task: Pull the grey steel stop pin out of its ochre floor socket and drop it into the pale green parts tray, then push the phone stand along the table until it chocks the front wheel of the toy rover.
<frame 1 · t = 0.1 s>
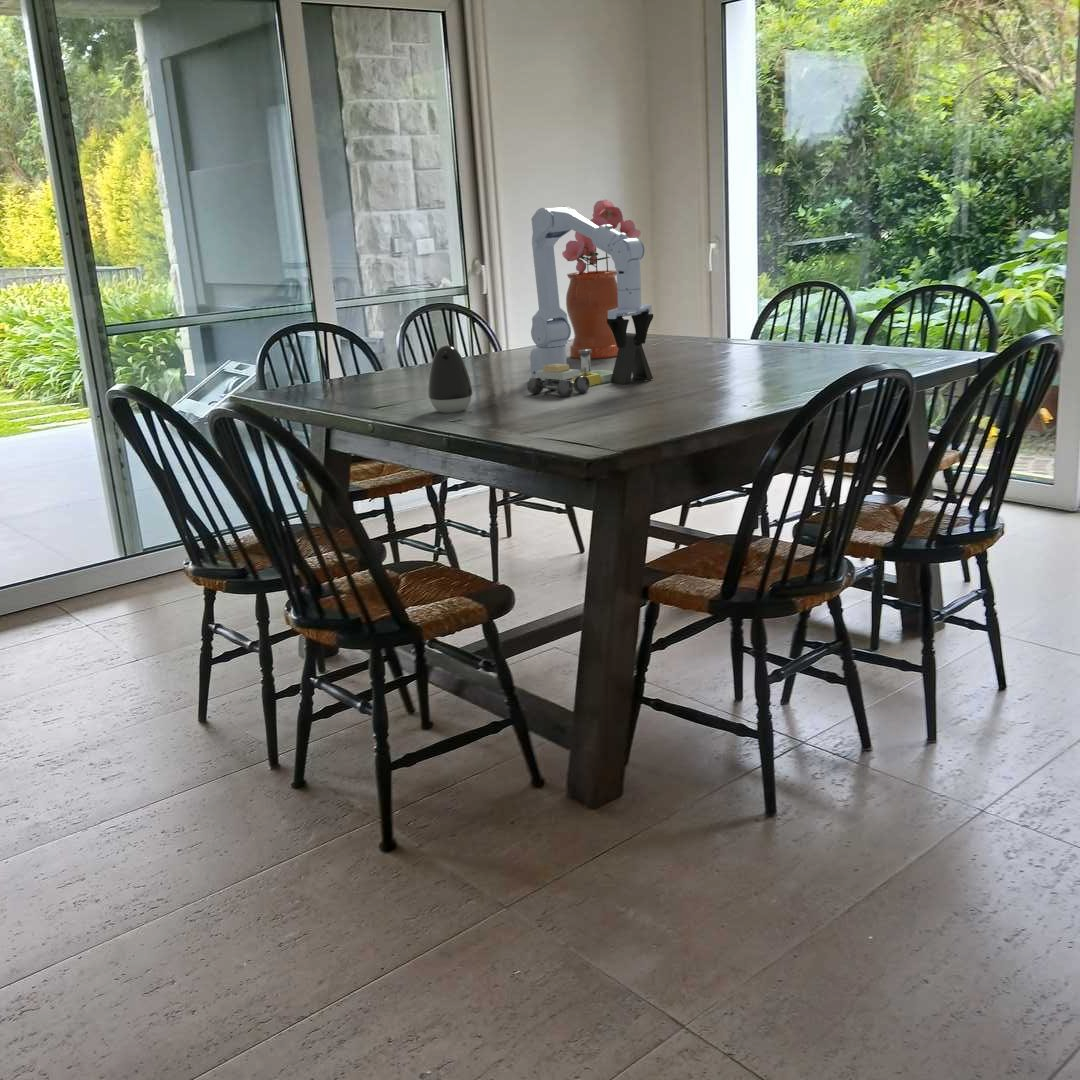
hand: (631, 345, 276), 10 cm above the table, tool pointing down, fingers open, 7 cm apart
potted flower: (601, 355, 338), on the table
egg shaped device: (451, 411, 260), on the table
toy rover: (558, 393, 275), on the table
stop pin: (585, 367, 284), in the pin socket
pin socket: (586, 384, 285), on the table
tray: (600, 380, 291), on the table
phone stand: (632, 381, 286), on the table
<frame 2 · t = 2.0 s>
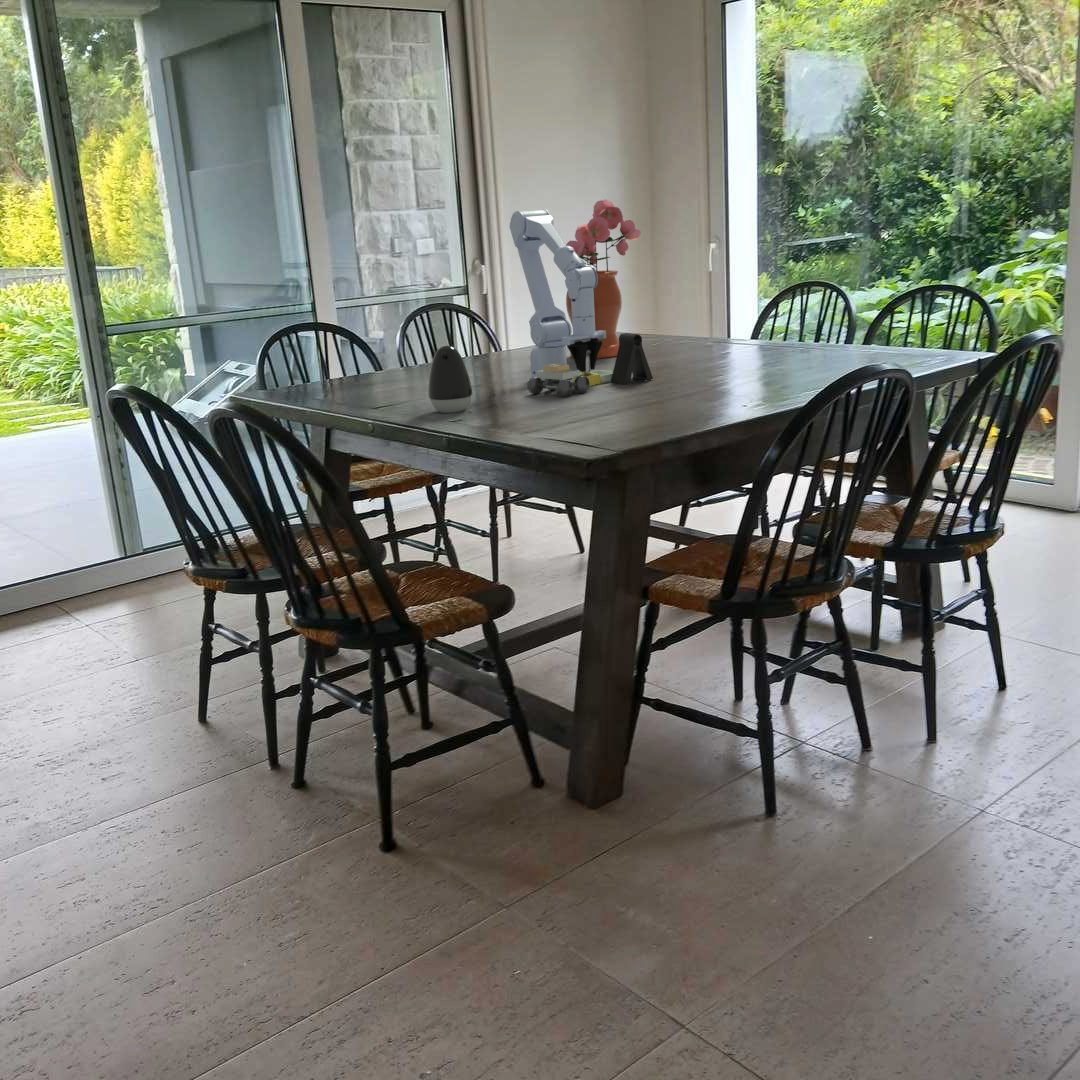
hand: (586, 370, 284), 4 cm above the table, tool pointing down, fingers closed on stop pin, 3 cm apart
stop pin: (585, 367, 284), in the pin socket, touching gripper
everything else where it was.
when the fingers open (6 cm above the table, at t = 4.2 s): stop pin drops 1 cm, resting on tray.
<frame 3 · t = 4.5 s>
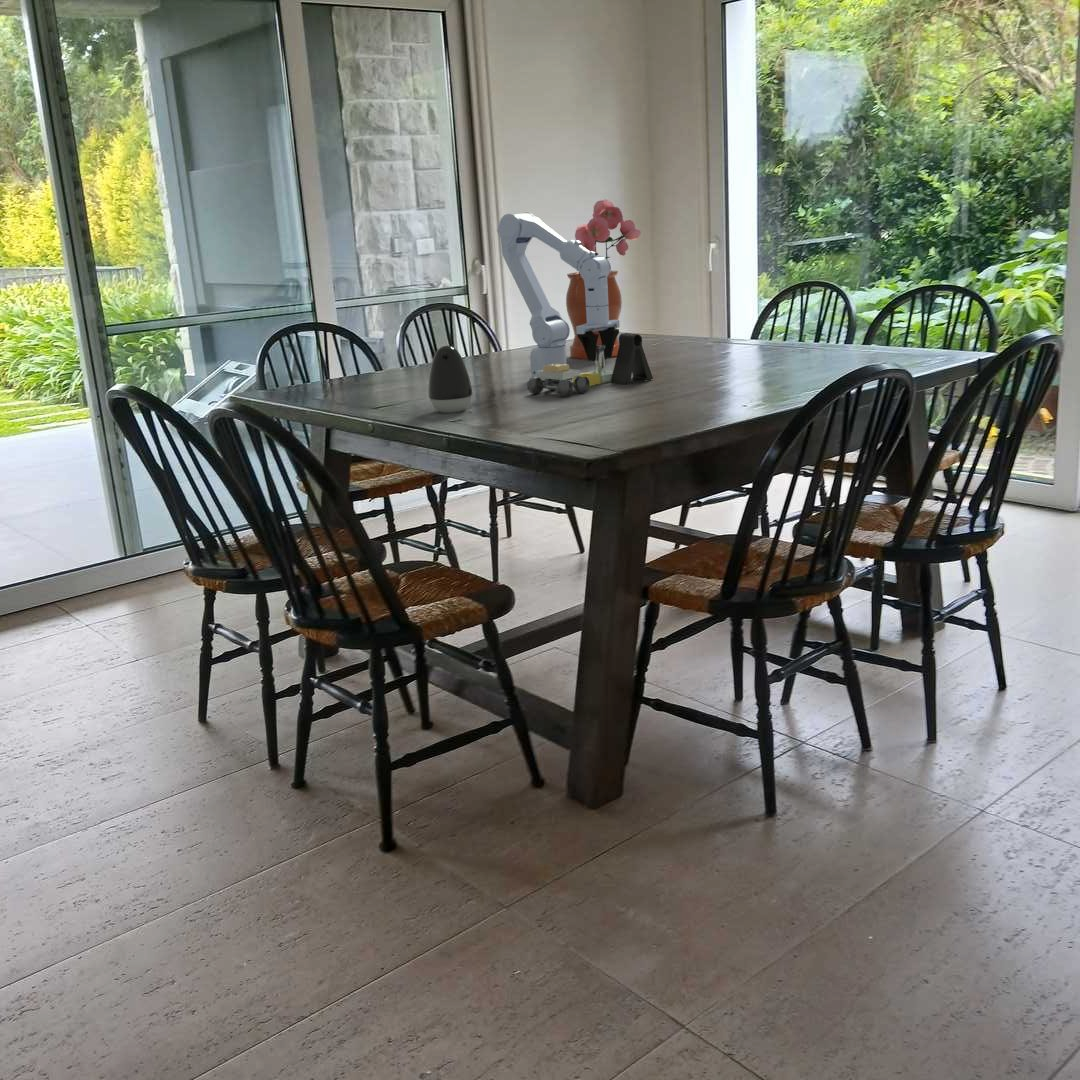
hand: (599, 359, 288), 6 cm above the table, tool pointing down, fingers open, 6 cm apart
stop pin: (599, 362, 288), in the tray
everything else where it was.
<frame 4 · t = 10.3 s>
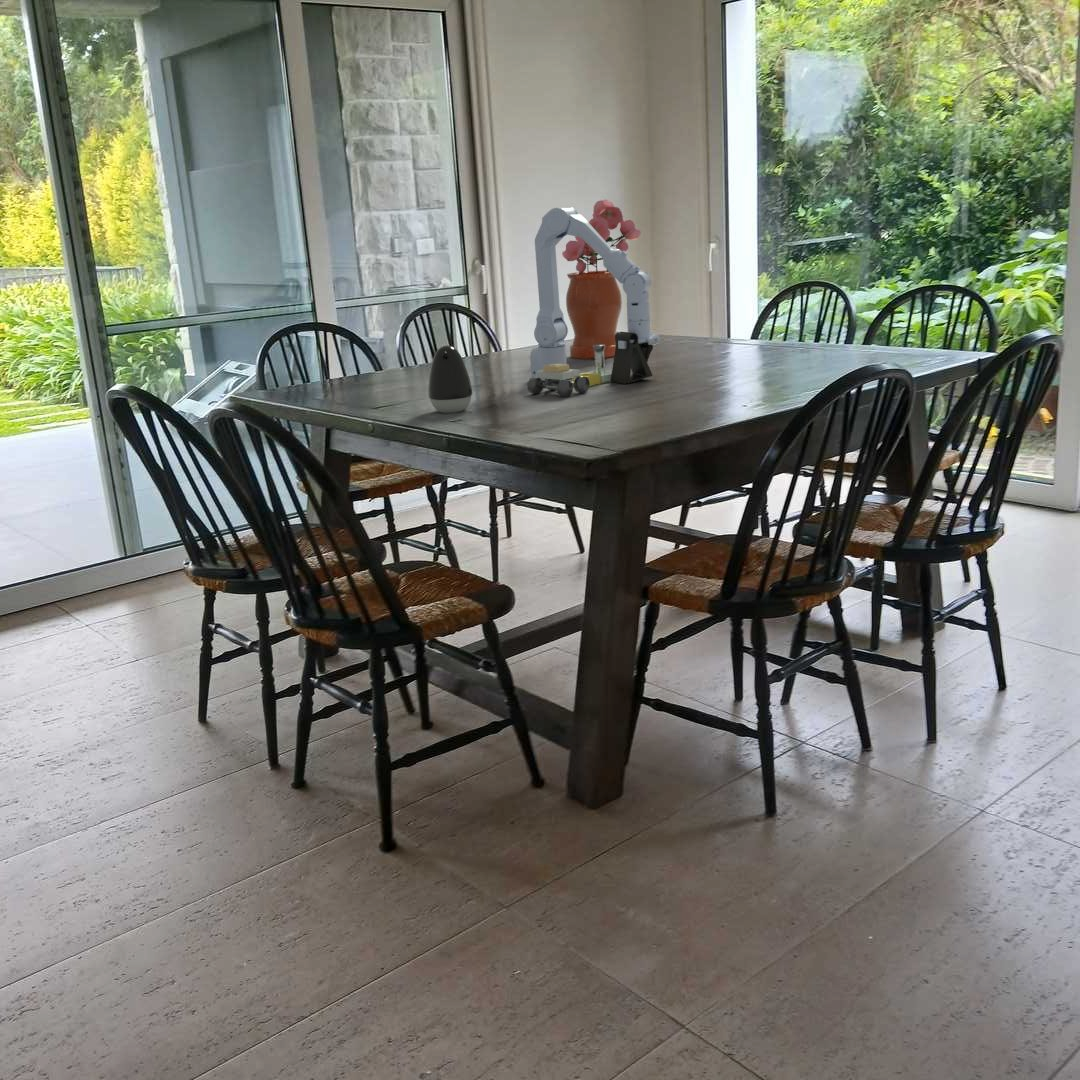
hand: (640, 373, 288), 1 cm above the table, tool pointing down, fingers closed, pressing on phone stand
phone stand: (631, 379, 286), on the table, touching gripper
everything else where it was.
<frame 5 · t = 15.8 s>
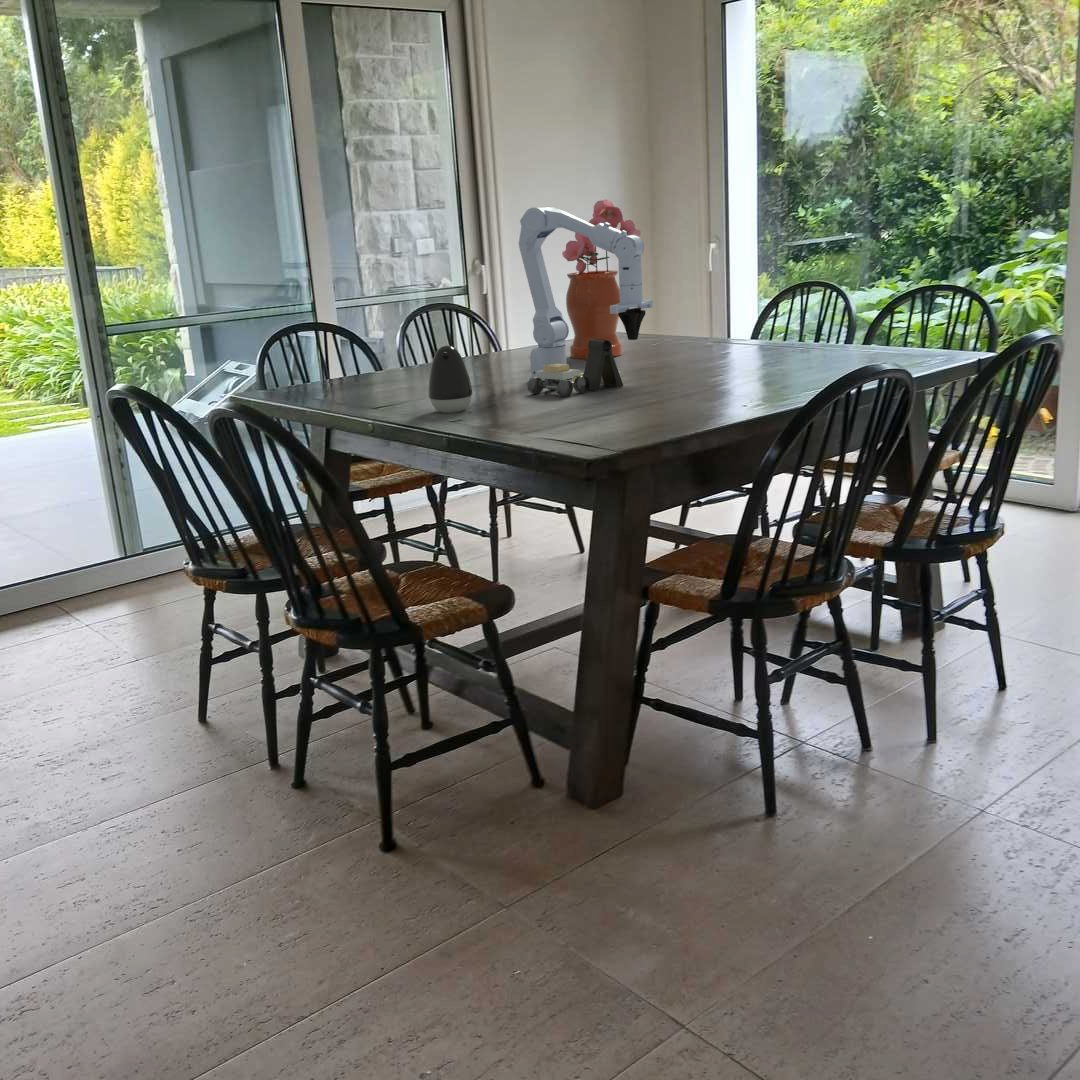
hand: (632, 339, 284), 10 cm above the table, tool pointing down, fingers closed
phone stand: (601, 388, 279), on the table
everything else where it was.
at the end: stop pin 1.1 cm off-centre on the tray, point 4.8 cm above the tray's base; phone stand inside the target area (1.1 cm from its centre), on the table; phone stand tilted 0° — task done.
